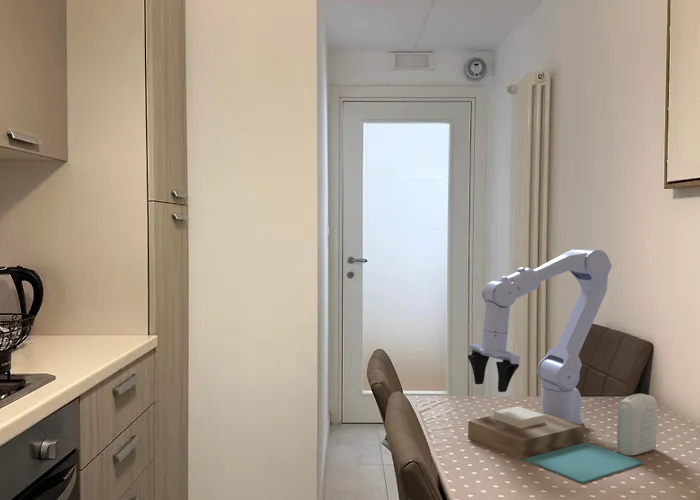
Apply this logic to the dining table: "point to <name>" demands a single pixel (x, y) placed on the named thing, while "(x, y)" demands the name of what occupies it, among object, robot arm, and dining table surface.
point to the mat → (584, 462)
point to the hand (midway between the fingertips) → (490, 387)
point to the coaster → (519, 417)
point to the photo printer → (637, 424)
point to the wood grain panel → (526, 435)
